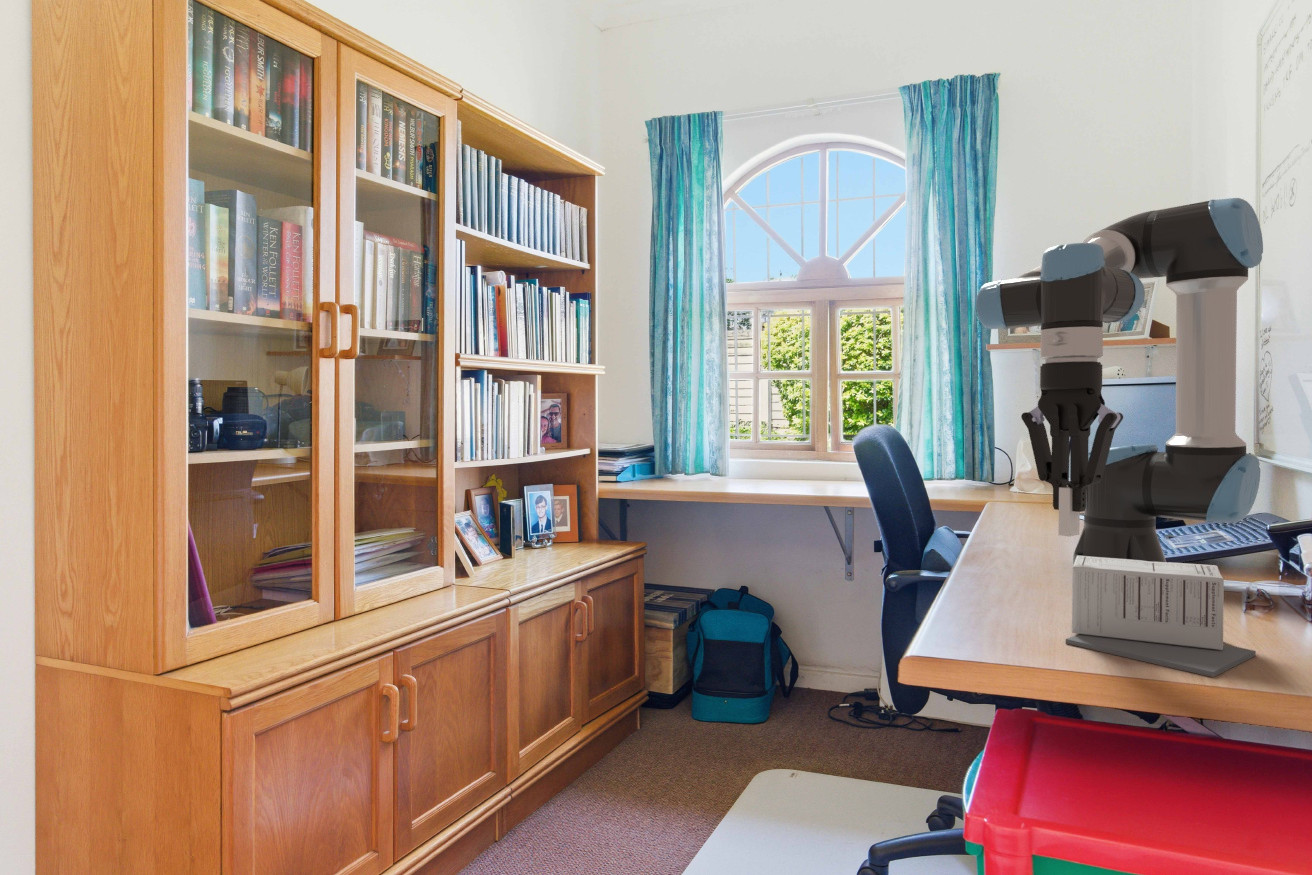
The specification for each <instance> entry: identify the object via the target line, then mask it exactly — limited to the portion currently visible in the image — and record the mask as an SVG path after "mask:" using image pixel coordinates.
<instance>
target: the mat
mask: <svg viewBox="0 0 1312 875" xmlns="http://www.w3.org/2000/svg"><path fill="white" fill-rule="evenodd" d="M1065 644H1067V645H1070V646H1075V647H1079V648H1083V649H1088V650H1092V651H1097V652H1102V653H1105V654H1110V655H1115V656H1119V657H1122V658H1128V659H1132V660H1137V661H1140V662H1145V663H1148V664H1149V663H1150V664H1154V665H1158V666H1163V667H1165V668H1172V669H1176V670H1180V671H1185V672H1189V673H1193V674H1198V675H1201V676H1205V677H1210V678H1215V677H1217V676H1219V675H1221V674H1223V673H1225V672H1226V671H1228V670H1230V669H1232V668H1235V667H1237V666H1239V665H1240V664H1242V663H1244V662H1246V661H1248V660H1250V659H1252V658H1254V657H1256V650H1254V649H1248V648H1243V647H1237V646H1235V645H1234V646H1233V645H1228V644H1224V643H1223V649H1222V650H1216V649H1207V648H1198V647H1190V646H1181V645H1172V644H1164V643H1155V642H1146V641H1137V640H1128V639H1119V638H1110V637H1101V636H1093V635H1084V634H1075V635H1073V636H1070V637H1067V638H1065Z"/></svg>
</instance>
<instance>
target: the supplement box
mask: <svg viewBox="0 0 1312 875" xmlns="http://www.w3.org/2000/svg"><path fill="white" fill-rule="evenodd" d="M1071 578H1072V579H1071V581H1072V582H1071V591H1072V592H1071V593H1072V594H1071V633H1072V634H1075V635H1078V634H1084V635H1093V636H1101V637H1110V638H1119V639H1128V640H1137V641H1146V642H1155V643H1164V644H1172V645H1181V646H1190V647H1198V648H1207V649H1216V650H1222V649H1223V644H1224V602H1225V601H1224V596H1225V595H1224V594H1225V592H1224V591H1225V590H1224V589H1225V587H1224V583H1225V582H1224V577H1223V576H1222V574H1221V572H1220V569H1219V567H1218V565H1214V564H1213V565H1212V564H1200V563H1198V564H1197V563H1186V562H1184V563H1183V562H1170V561H1169V562H1167V561H1166V562H1150V561H1142V560H1130V559H1117V558H1103V557H1090V556H1077V557H1076V560H1075V562H1074V565H1073V564H1072V577H1071Z"/></svg>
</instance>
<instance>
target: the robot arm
mask: <svg viewBox="0 0 1312 875" xmlns="http://www.w3.org/2000/svg"><path fill="white" fill-rule="evenodd" d="M1263 253H1264V243H1263V233H1262V229H1261V224H1260V222H1259V218H1258V216H1257V213H1256V212H1255V210H1254V208H1253V206H1252V205H1251V204H1250V203H1249V201H1247V200H1245V199H1244V198H1240V197H1232V198H1231V197H1229V198H1221V199H1210V200H1206V201H1200V202H1196V203H1190V204H1189V203H1188V204H1185V205H1179V206H1173V207H1168V208H1161V209H1157V210H1150V211H1143V212H1141V213H1137V214H1134V215H1132V216H1129V217H1126V218H1124V219H1122V220H1119V221H1118V222H1117V221H1116V222H1115V223H1113V224H1110V225H1109V226H1107V227H1104V228H1102V229H1099V230H1098V231H1096V232H1094V233H1093V234H1090V235H1089V236H1088V237H1086V238H1085V239H1084V241H1083V242H1073V243H1066V244H1065V243H1063V244H1060V245H1055V246H1052V247H1048V248H1047V249H1046V250H1045V251H1044V252H1043V254H1042V257H1041V258H1042V259H1041V260H1042V261H1041V265H1039V266H1037V267H1035V268H1034V269H1032V270H1028V271H1027V272H1024V273H1022V274H1020V275H1018V276H1016V277H1014V278H1010V279H998V280H997V281H996V280H995V281H991V282H987V283H984V284H983V285H982V286H981V287H980V288H979V290H978V292H977V295H976V300H975V308H976V313H977V314H976V315H977V318H978V320H979V322H980V323H981V325H982V326H983V327H985V328H986V329H990V330H1002V329H1004V330H1006V331H1007V330H1009V329H1019V328H1030V327H1039V326H1040V358H1041V359H1042V360H1045V362H1044V363H1041V365H1040V366H1039V368H1040V370H1039V371H1040V372H1039V374H1040V375H1039V376H1040V377H1039V380H1040V381H1039V383H1040V384H1039V388H1040V392H1041V394H1040V397H1039V399H1038V401H1037V406H1035V407H1034V408H1033V409H1032V410H1030V411H1028V412H1027V411H1026V412H1023V413H1022V414H1021V420H1022V421H1023V423H1024V425H1025V426H1026V428H1027V430H1028V434H1029V439H1030V444H1031V448H1032V452H1033V453H1032V454H1033V458H1034V462H1035V466H1036V470H1037V476H1038V479H1039V480H1040V481H1042V482H1046V483H1047V484H1050V485H1051V487H1052V507H1053V510H1056V511H1058V536H1062V537H1068V538H1069V537H1074V536H1078V535H1080V537H1079V539H1078V541H1077V544H1076V547H1075V549H1074V552H1073V556H1072V557H1073V558H1072V566H1073V565H1074V562H1075V560H1076V557H1077V556H1090V557H1103V558H1117V559H1130V560H1142V561H1150V562H1167V560H1166V557H1165V554H1164V550H1163V549H1162V545H1161V541H1160V539H1159V537H1158V534H1157V529H1156V527H1157V526H1156V523H1157V522H1156V521H1157V518H1167V519H1177V520H1189V521H1201V522H1207V523H1208V524H1209V523H1210V524H1213V523H1222V524H1223V523H1224V524H1225V523H1226V524H1235V523H1238V522H1241V521H1243V519H1245V518H1246V517H1247V516H1248V514H1249V513H1250V511H1251V510H1252V508H1253V506H1254V504H1255V501H1256V498H1257V495H1258V493H1259V486H1260V480H1261V468H1260V460H1259V458H1258V457H1257V456H1255V455H1252V454H1250V453H1247V442H1246V441H1244V440H1243V439H1242V438H1240V436H1239V435H1237V432H1236V410H1237V409H1236V408H1237V406H1236V405H1237V402H1236V400H1237V399H1236V398H1237V394H1236V393H1237V392H1236V391H1237V327H1238V326H1237V320H1238V319H1237V316H1238V315H1237V314H1238V310H1237V309H1238V307H1237V306H1238V304H1237V302H1238V290H1239V289H1240V288H1241V287H1242V286H1243V285H1244V284H1246V282H1248V280H1249V269H1252V268H1253V269H1254V267H1257V266H1259V265H1260V264H1261V262H1262V258H1263ZM1149 278H1150V279H1152V278H1165V284H1166V285H1165V286H1166V287H1167V288H1168V289H1169V290H1170V291H1172V292H1173V293H1174V294H1175V297H1176V299H1175V300H1176V303H1175V306H1176V313H1175V314H1176V315H1175V318H1176V328H1175V330H1176V331H1175V332H1176V333H1175V337H1176V338H1175V350H1176V351H1175V433H1174V434H1173V435H1172V437H1170V438H1169V439H1168V440H1166V442H1165V443H1164V445H1165V447H1164V448H1165V451H1159V448H1158V446H1157V444H1156V443H1145V444H1133V445H1124V446H1122V445H1121V446H1112V447H1111V445H1112V443H1113V439H1114V435H1115V432H1116V430H1117V428H1118V427H1119V426H1120V424H1121V422H1122V421H1123V420H1124V415H1123V413H1121V412H1115V411H1113V410H1112V409H1111V408H1108V407H1107V406H1106V404H1105V399H1104V397H1103V396H1102V395H1103V394H1102V389H1103V364H1101V363H1102V362H1100V361H1098V359H1100V358H1102V357H1103V356H1104V355H1103V354H1104V353H1103V352H1104V345H1103V344H1104V343H1103V341H1104V340H1103V336H1104V335H1103V332H1104V331H1103V329H1104V328H1103V326H1104V324H1110V323H1111V324H1112V323H1120V322H1125V321H1127V320H1129V319H1131V318H1132V317H1134V316H1135V315H1136V314H1137V313H1138V312H1139V311H1140V310H1141V308H1142V306H1143V304H1144V302H1145V301H1144V300H1145V296H1146V292H1145V286H1144V284H1143V282H1142V280H1141V279H1149ZM1096 419H1097V423H1098V426H1097V428H1096V430H1095V434H1094V438H1093V442H1092V446H1091V450H1090V451H1089V437H1090V436H1091V426H1092V424H1093V423H1094V422H1095V420H1096ZM1045 420H1046V421H1047V422H1048V424H1049V434H1050V436H1051V446H1050V442H1049V438H1048V432H1047V430H1046V426H1045V423H1044V421H1045ZM1080 512H1083V528H1082V531H1081V533H1080V520H1081V519H1080V516H1081V514H1080Z"/></svg>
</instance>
